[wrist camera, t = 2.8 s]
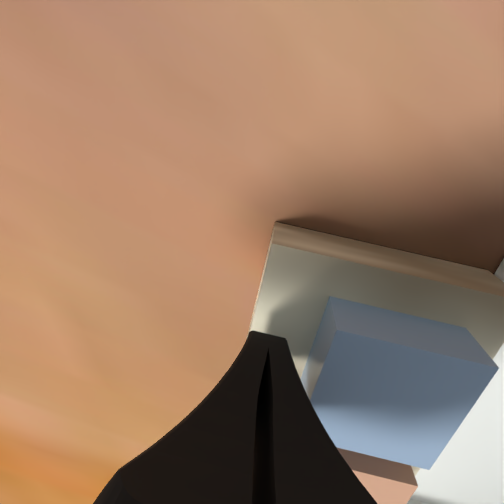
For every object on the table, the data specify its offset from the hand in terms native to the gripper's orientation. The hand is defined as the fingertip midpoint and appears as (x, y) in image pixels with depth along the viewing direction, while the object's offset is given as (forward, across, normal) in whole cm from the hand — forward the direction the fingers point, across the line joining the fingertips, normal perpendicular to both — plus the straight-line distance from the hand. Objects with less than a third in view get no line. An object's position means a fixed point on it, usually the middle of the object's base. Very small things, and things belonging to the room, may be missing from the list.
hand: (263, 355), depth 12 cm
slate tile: (+1, -4, 0) cm, 5 cm away
